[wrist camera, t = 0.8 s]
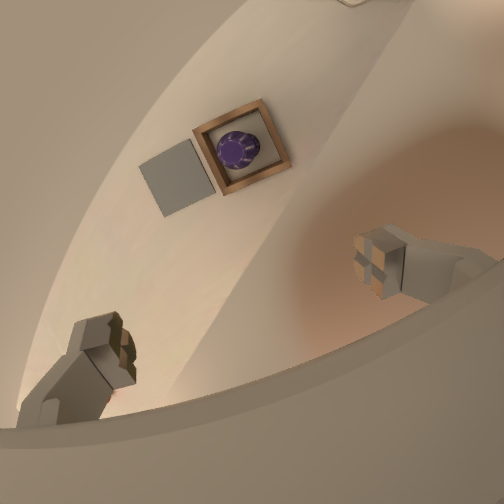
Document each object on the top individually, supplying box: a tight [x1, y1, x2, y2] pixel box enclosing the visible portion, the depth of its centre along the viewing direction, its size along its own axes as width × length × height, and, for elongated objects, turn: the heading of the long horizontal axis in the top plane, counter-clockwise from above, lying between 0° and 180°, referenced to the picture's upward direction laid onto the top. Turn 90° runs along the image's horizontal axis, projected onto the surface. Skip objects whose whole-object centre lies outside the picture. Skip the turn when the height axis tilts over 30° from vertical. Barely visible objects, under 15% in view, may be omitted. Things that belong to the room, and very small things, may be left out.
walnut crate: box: [192, 99, 292, 196], centre depth 45 cm, size 11×11×5 cm
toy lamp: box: [217, 131, 260, 169], centre depth 39 cm, size 5×5×17 cm
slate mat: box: [139, 139, 216, 217], centre depth 49 cm, size 10×10×1 cm
